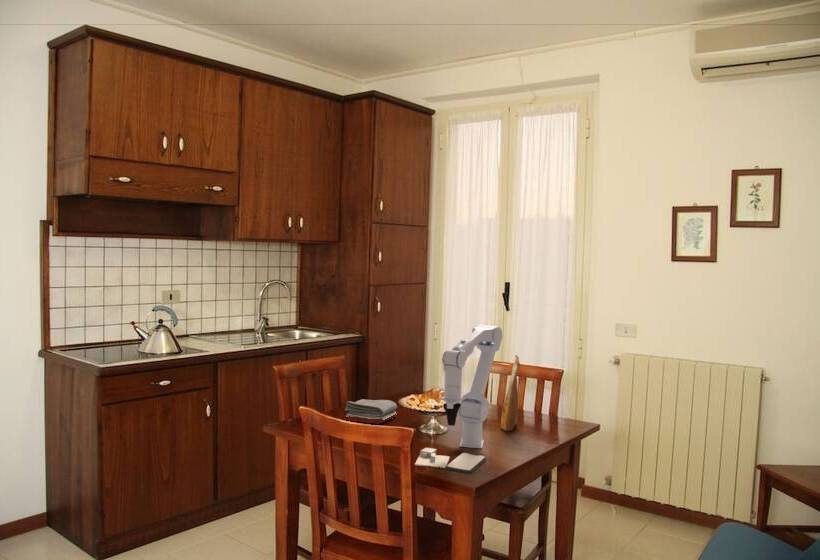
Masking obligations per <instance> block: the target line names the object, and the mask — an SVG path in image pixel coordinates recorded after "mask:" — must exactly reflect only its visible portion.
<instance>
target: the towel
mask: <svg viewBox="0 0 820 560" xmlns="http://www.w3.org/2000/svg"><path fill="white" fill-rule="evenodd" d="M397 409H398V405H397V403H396V402H394V401H392V400H389V399H375V400H374V399H364V398H363V399H359V400H357V401H350V400H349V401H347V402H346V407H345V408H344V411H346V412H348V413H346V415H345V416H346V417H349V416H350V417H359V418H367V419H382V420H385V419H387V418H389V417H391V416H393V415H395V414H396V415H397V411H395V410H397Z"/></svg>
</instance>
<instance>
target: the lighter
mask: <svg viewBox="0 0 820 560" xmlns="http://www.w3.org/2000/svg"><path fill="white" fill-rule="evenodd" d="M435 455H437V448H432V447H424V448H423V449H420V451H419V456H424V457H429V458H431V462H435Z"/></svg>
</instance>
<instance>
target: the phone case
mask: <svg viewBox="0 0 820 560" xmlns="http://www.w3.org/2000/svg"><path fill="white" fill-rule="evenodd" d="M486 458H487V457H486V456H484V455H480V454H476V453H468V452H461V453H460V454H459V455H458V456H456V457H455V458H454V459H452V460H451V461H450V462H448V463H447V465H446V468H445V470H447V469H449V470H448V471H452V470H454V471H453V472H457V471H459V472H458V473H462V472H463V473H464V474H472V473H473V472H474V471H476V470H477V469H478V468H479V467H480V466H481V465H482V464H484V463H485V462H486ZM477 467H478V468H477ZM471 472H472V473H471Z"/></svg>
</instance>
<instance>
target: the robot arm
mask: <svg viewBox="0 0 820 560" xmlns="http://www.w3.org/2000/svg"><path fill="white" fill-rule="evenodd" d="M502 340H503V330H502V328H501V326H499V325H485V324H478V323H477V324H475V325H474V326H473V327H472V331H471V334H470V335H469V336H468V338H467V339H466V338H465V339H461V340H460V341H459V342H458V343H457V344H456V345H455V346H454V347H453V348H452V349H447V350H445V351H444V352H443V354H442V358H441V364H442V365H443V372H444V390H443V391H444V392H443V393H444V394H443V396H441V397H440V400H441V401H444V402H445V403H443V407H442V408H443V409H444V412H445V415H446V420H447V425H448V426H450V427H451V426H453V427H455V425H456V422H457V421H456V420H457V417H460V420H461V421H462V426H461V428H462V429H461V440H460V443H459V447H460V448H471V449H483V447H484V442H485V441H484V439H483V422H485V420H486V419H487V418H488V416H489V407H490V406H489V405H490V403H489V400H488V399H487V397H485V392H486V389H487V384H488V381H489V378H490V373H491V370H492V365H493V362H494V358H495V355H496V352H498V351H499V350H500V347H501V344H502ZM475 347H476V348H477V349H479V350H480V355H479V360H478V363H477V366H476V370H475V373H474V377H473V380H472V384H471V387H470V391H469V392H467V393H465V394H463V395H462V382H463V380H462V379H463V378H462V377H463V368H464V367H465V365H466V362H467V361H468V358H469V357H470V355H472V354H473V353H474V350H475Z"/></svg>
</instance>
